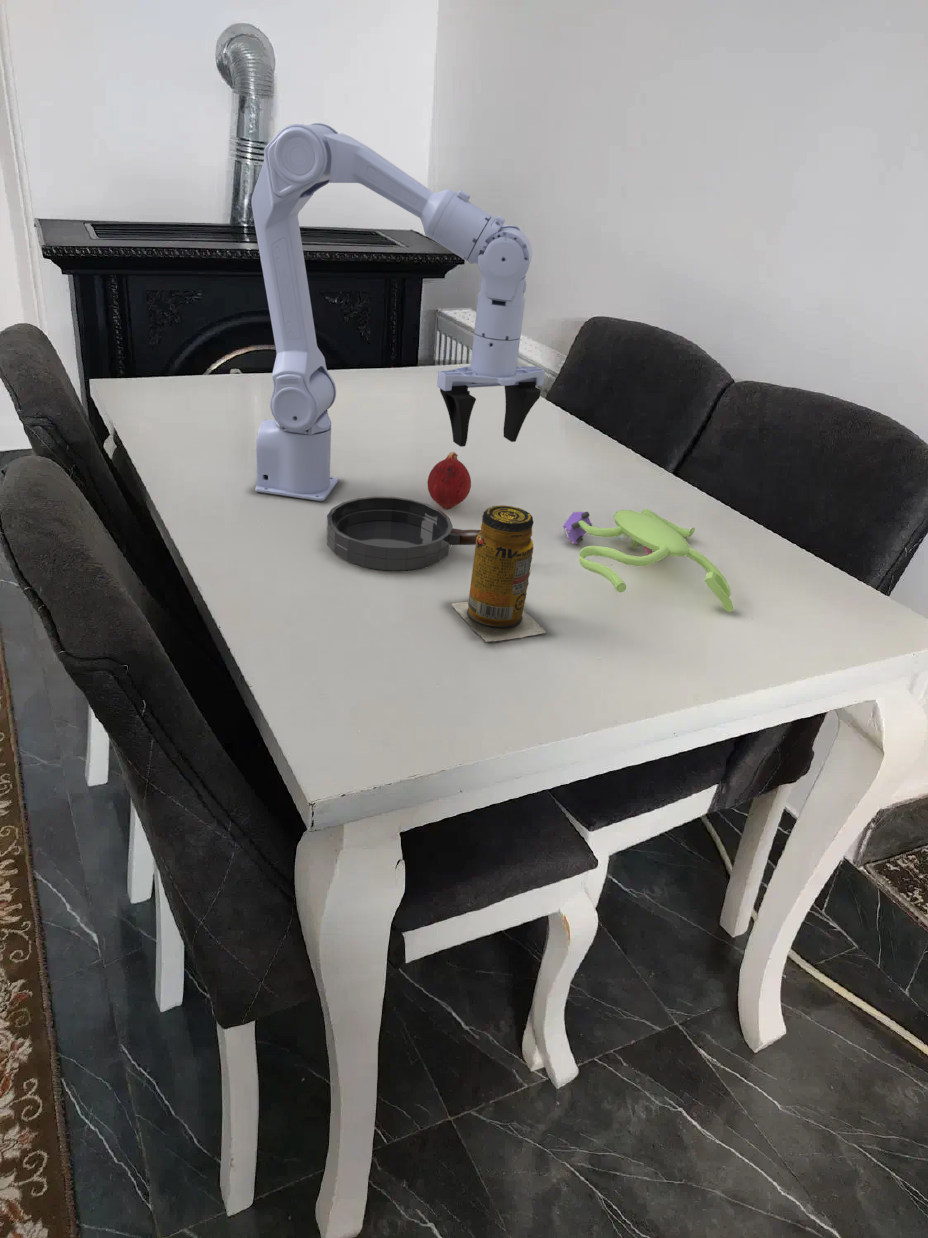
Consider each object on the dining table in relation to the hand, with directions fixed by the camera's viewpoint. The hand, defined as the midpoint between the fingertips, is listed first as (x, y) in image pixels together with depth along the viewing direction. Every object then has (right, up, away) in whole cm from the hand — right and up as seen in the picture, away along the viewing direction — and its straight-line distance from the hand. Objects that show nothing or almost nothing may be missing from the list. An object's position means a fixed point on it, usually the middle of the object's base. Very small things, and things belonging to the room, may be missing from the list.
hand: (484, 441), depth 119 cm
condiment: (+1, -23, -20) cm, 30 cm away
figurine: (+19, -17, -5) cm, 26 cm away
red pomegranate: (-5, -8, +5) cm, 11 cm away
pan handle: (0, -15, -8) cm, 17 cm away
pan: (-12, -14, -6) cm, 19 cm away
